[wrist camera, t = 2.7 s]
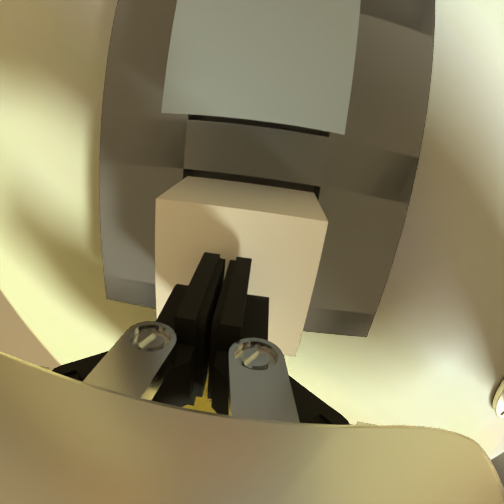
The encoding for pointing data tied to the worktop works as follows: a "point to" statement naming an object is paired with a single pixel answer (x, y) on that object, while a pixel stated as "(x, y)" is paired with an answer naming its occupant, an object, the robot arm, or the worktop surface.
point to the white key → (244, 244)
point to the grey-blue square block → (263, 60)
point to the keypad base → (270, 156)
